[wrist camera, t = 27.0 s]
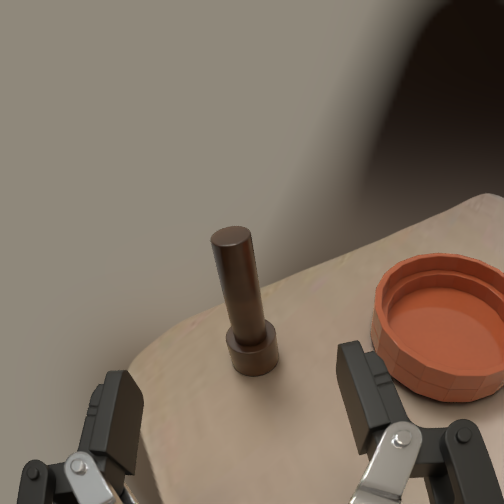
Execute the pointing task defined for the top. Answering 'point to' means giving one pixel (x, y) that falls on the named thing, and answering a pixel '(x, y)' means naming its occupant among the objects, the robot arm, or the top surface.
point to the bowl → (442, 326)
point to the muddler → (244, 303)
